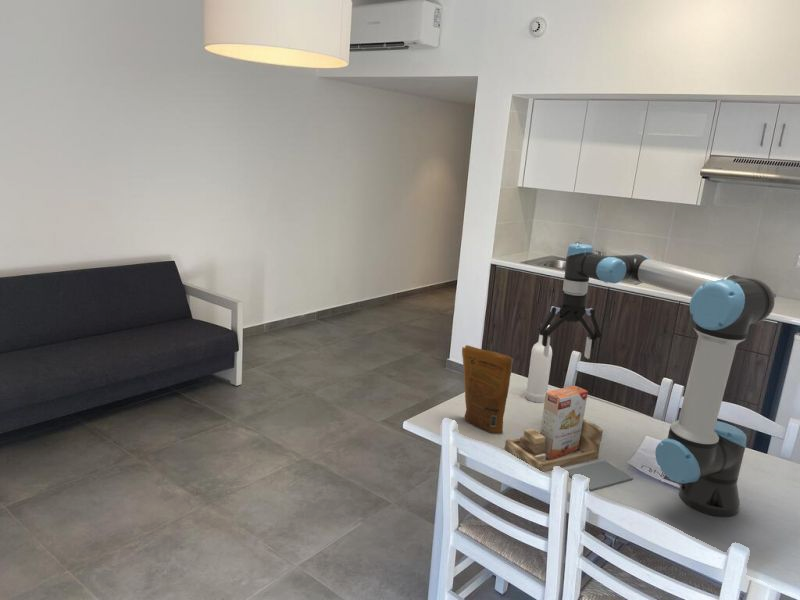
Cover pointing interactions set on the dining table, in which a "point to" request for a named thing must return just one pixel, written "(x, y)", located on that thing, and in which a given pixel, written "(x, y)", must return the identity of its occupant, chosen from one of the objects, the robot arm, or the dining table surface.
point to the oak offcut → (534, 437)
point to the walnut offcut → (531, 447)
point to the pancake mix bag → (486, 387)
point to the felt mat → (601, 474)
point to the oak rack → (587, 444)
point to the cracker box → (563, 420)
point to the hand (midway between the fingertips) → (566, 356)
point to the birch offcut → (538, 456)
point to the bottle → (538, 372)
